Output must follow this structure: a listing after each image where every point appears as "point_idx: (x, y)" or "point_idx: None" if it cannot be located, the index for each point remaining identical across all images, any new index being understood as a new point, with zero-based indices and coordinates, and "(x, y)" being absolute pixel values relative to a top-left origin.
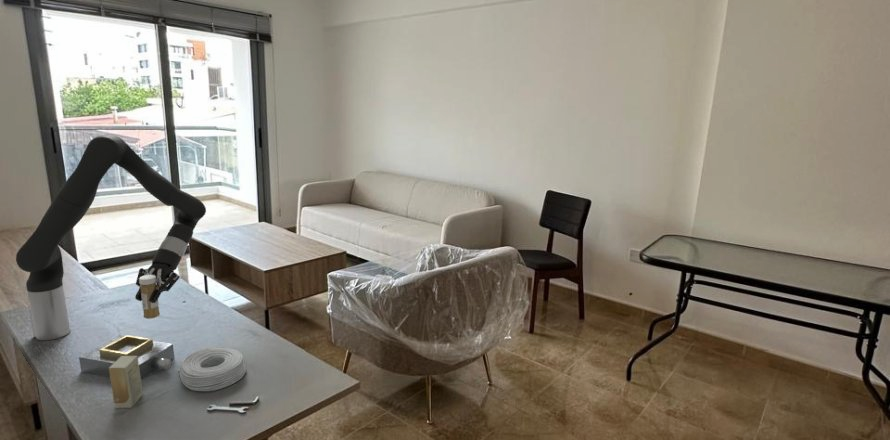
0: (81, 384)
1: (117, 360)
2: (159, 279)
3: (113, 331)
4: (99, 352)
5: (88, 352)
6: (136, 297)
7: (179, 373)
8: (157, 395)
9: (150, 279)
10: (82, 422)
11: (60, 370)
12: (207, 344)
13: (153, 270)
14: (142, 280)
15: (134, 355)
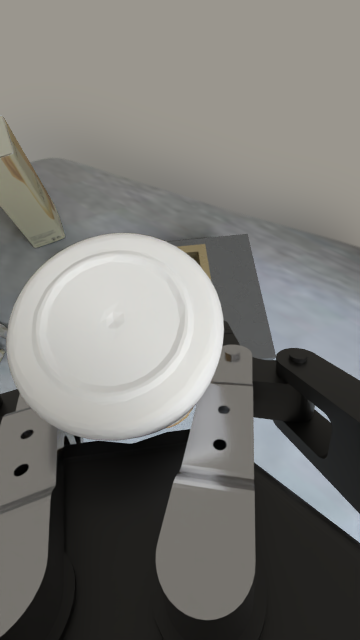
0: (189, 231)
1: (7, 138)
2: (5, 428)
3: None
4: (223, 265)
5: (249, 255)
6: None
7: (2, 325)
8: (3, 256)
9: (24, 292)
10: (75, 168)
11: (287, 248)
12: None
13: (174, 536)
14: (101, 237)
15: None
